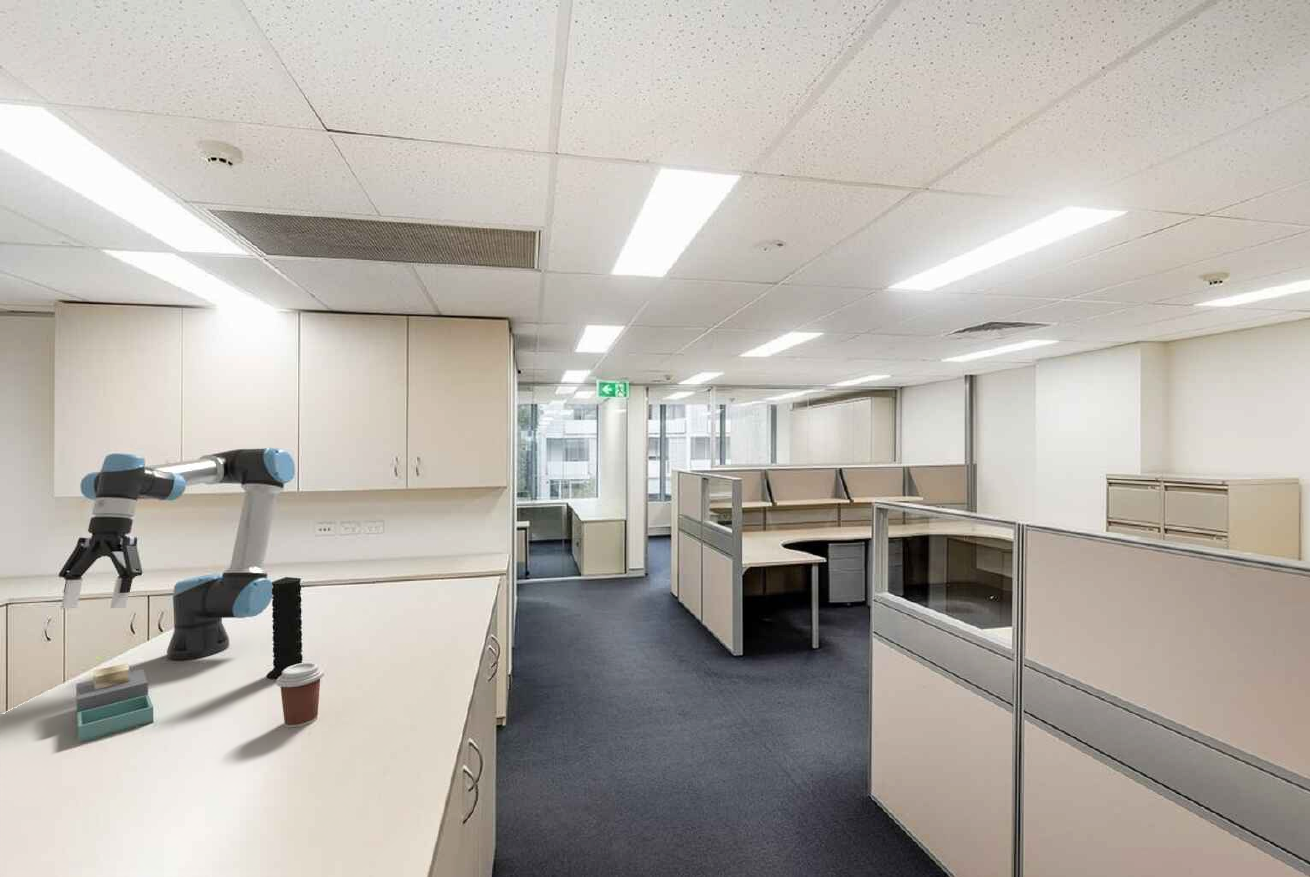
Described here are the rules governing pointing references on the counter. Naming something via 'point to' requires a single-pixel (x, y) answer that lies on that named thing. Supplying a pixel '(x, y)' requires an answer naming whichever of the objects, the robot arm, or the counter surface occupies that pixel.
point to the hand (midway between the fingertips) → (93, 608)
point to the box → (114, 718)
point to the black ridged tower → (286, 625)
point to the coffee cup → (300, 693)
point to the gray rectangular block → (110, 692)
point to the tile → (111, 676)
